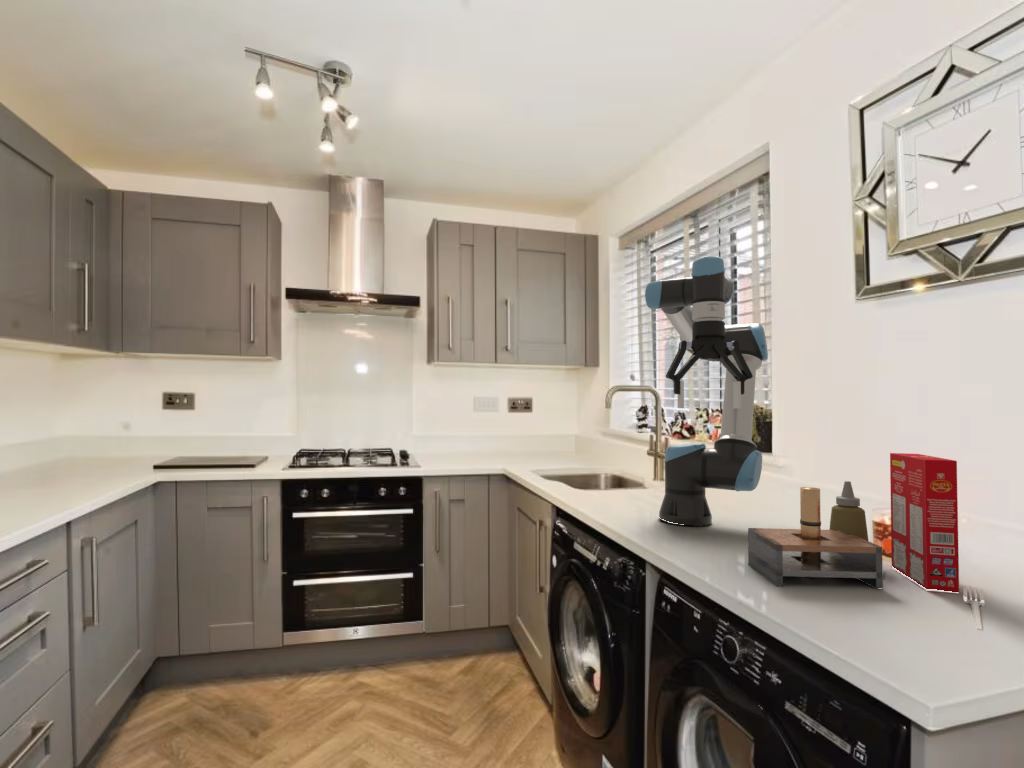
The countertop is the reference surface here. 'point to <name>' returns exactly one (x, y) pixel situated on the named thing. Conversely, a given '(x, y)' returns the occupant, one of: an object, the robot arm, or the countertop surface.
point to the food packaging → (925, 519)
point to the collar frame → (839, 551)
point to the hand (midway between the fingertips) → (708, 408)
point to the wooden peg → (810, 523)
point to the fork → (975, 606)
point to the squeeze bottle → (849, 514)
